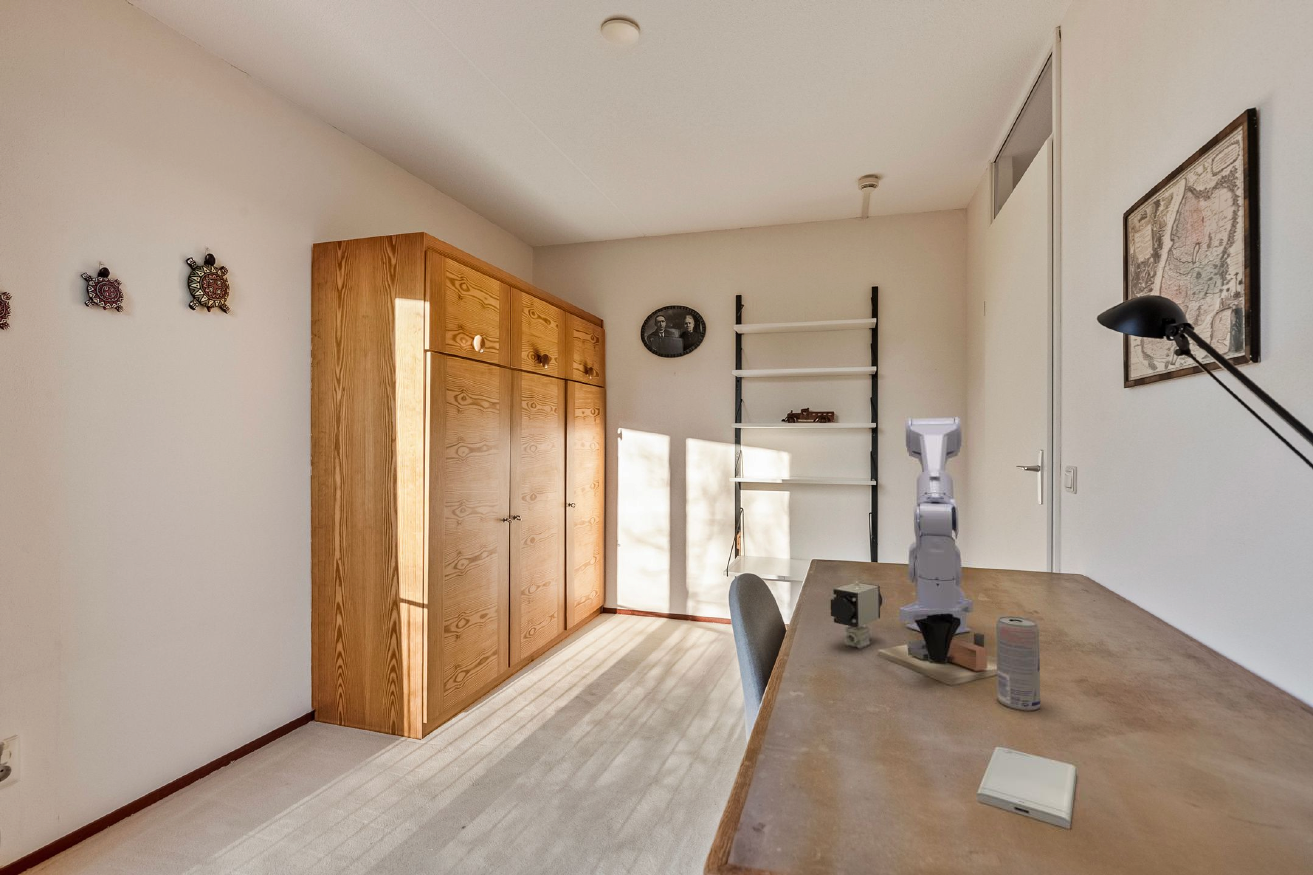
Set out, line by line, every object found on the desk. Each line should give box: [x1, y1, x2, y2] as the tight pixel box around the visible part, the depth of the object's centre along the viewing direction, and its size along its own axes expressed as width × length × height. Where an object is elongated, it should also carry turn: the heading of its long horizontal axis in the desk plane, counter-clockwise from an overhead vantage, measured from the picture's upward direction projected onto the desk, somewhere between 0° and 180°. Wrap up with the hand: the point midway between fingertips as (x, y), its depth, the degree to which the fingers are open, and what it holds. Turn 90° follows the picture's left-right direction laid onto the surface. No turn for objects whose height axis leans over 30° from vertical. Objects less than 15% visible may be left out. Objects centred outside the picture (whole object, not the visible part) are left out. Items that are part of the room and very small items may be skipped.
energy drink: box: [995, 615, 1041, 712], centre depth 90 cm, size 5×5×12 cm
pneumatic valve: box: [829, 580, 883, 650], centre depth 117 cm, size 6×12×12 cm, turn 133°
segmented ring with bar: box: [906, 639, 988, 671], centre depth 106 cm, size 14×9×3 cm, turn 25°
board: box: [876, 633, 997, 686], centre depth 107 cm, size 15×16×5 cm
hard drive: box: [976, 746, 1077, 830], centre depth 68 cm, size 2×8×12 cm
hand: (937, 660), depth 100 cm, fingers closed
